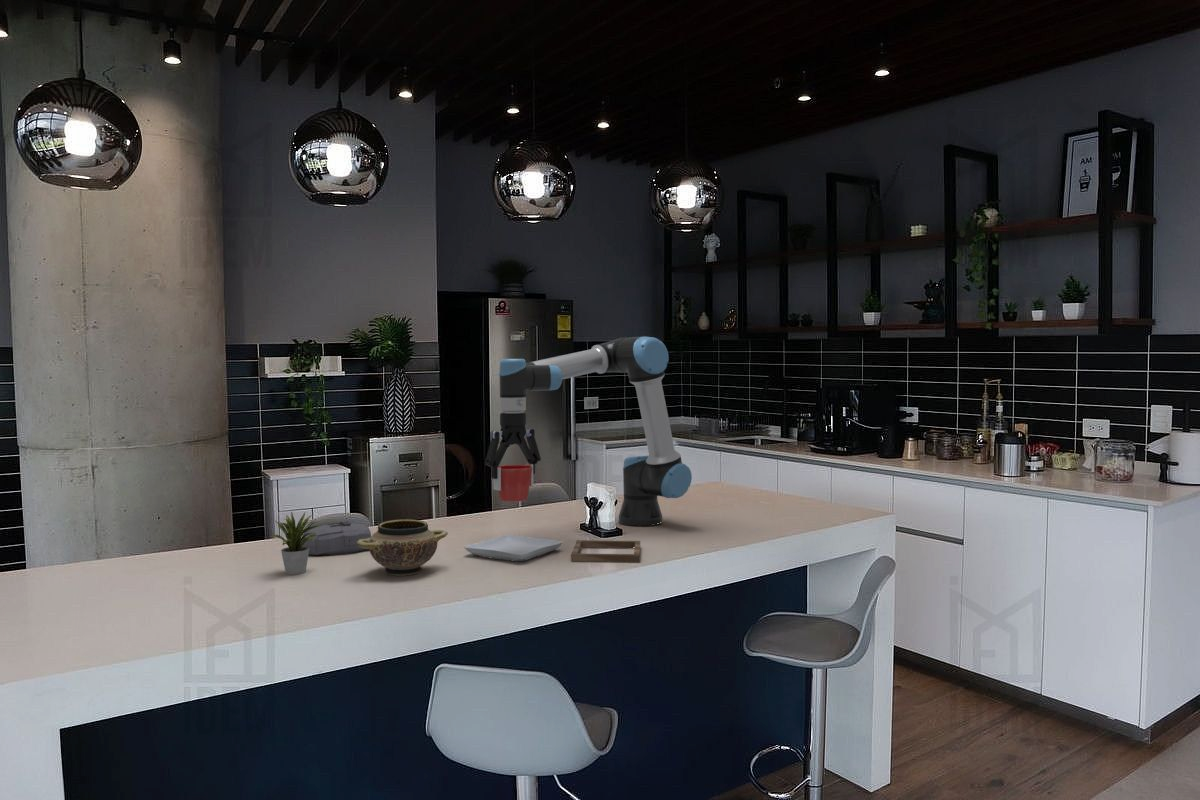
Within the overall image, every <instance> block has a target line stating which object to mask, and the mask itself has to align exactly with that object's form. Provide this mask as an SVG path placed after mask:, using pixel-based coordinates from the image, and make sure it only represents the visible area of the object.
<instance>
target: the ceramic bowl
mask: <svg viewBox="0 0 1200 800" xmlns="http://www.w3.org/2000/svg"><path fill="white" fill-rule="evenodd" d="M448 533H449V532H448V531H447V530H445V529H434V530H430V529H429V523H427V522H426V521H423V520H419V519H413V518H411V519H409V518H408V519H407V518H406V519H405V518H404V519H403V518H402V519H401V518H400V519H391V520H386V521H382V522H380V523H379V524H377V531H376V532H374V533H373V534H371V537H370V538H368V539H360V540H358V541H357V545H358V546H359V547H361V548H364V549H368V551H369V554H370V555H371V557H372V559H374V561H376V563H377V564H379V565H380V566H381V567H384V568H385V569H384V572H385V574H387V575H391V576H401V577H402V576H403V577H404V576H411V575H417V574H418V573H420V572H421V571H422V566H424V565H425V564H427V562H429V561H430V560H431V559H432V558H433V556H434V555H435V553H436V551H437V548H438V542H439V541H441V540H442V539H444V538H446V537H447V536H448Z"/></svg>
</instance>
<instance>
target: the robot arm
mask: <svg viewBox="0 0 1200 800" xmlns="http://www.w3.org/2000/svg"><path fill="white" fill-rule="evenodd" d="M669 358H670V357H669V352H668V349H667V347H666V345H665V343H664V342H663V341H661V340H660V339H658V338H656V337H653V336H651V337H650V336H647V335H646V336H645V335H643V336H635V337H633V336H632V337H620V338H616V339H614V340H610V341H607V342H603V343H598V344H595V345H593V346H591V349H587V350H582V351H576V352H572V353H568V354H563V355H556V356H553V357H548V358H544V359H539V360H535V361H530V362H527V361H526V360H525V359H524V358H503V359H501V360H500V361H499V373H498V376H499V411H500V413H499V425H500V431H499V430H497V431H495V430H492V431H491V432H490V438H491V439H490V442H489V446H488V450H487V453H486V458H485V461H484V465H485V466H487V467H490V471H491V472H490V474H491V475H490V478H491V479H492V481H493V490H494V491H498V492H499V491H500V490H501V468H500V467H498V466H500V464H501V462H502V459H503V458H504V456H505V454H506V452H507V449H508V448H509V447H510V446H513V445H517V446H518V447H519V449H520V451H521V452H522V455H523V456H524V457H525V460H526V461H527V463H525V465H526V466H532V474H531V481H530V487H534V475H535V473H536V464H538V462H541V460H542V458H541V455H540V452H539V447H538V445H537V441H536V440H537V439H536V437H535V434H536V433H535V428H534V429H533V428H526V425H527V414H526V412H525V411H527V397H526V396H527V392H533V391H534V392H539V391H544V392H545V391H548V392H549V391H550V392H551V391H556V390H558V389H559V388H561V385H562V383H563V380H566V379H570V378H575V377H579V376H583V375H588V374H592V373H597V374H598V375H599V374H600V375H601V374H606V373H625V374H627V376H628V380H629V383H630V384H632V385H634V387H635V391H636V397H637V401H638V407H639V411H640V416H641V421H642V425H643V430H644V431H643V432H644V435H645V440H646V441H645V442H646V445H647V450H648V455H639V456H628V457H625V459H624V460H623V467H622V470H623V471H622V472H623V477H622V478H623V479H622V480H623V502H622V504H621V507H620V511H619V514H618V523H619V524H620V525H623V524H625V525H624V526H629V525H652V524H657V523H660V522H662V523H663V514H662V511H661V507H660V504H659V499H658V497H661V498H662V497H663V498H666V499H679V498H681V497H683V496H684V495H685V494H686V493H687V492H688V491H689V487H690V486H691V484H692V479H693V478H692V476H693V475H692V474H693V473H692V470H691V468H690V467H689V466H688V465H686V464H685V463H683V461H682V457H681V453H680V452H678V451H677V450H676V449H675V444H674V439H673V434H672V433H673V432H672V430H671V423H670V420H669V413H668V408H667V405H666V399H665V394H664V389H663V383H662V380H663V378H664V377H665V375H666V374H665V371H666V369H667V366H668V363H669V361H670V359H669ZM525 437H526V438H525ZM500 439H501V440H500ZM526 440H527V441H526Z"/></svg>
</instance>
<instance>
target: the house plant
mask: <svg viewBox="0 0 1200 800" xmlns="http://www.w3.org/2000/svg"><path fill="white" fill-rule="evenodd" d="M306 513H307V511H304V512H303V514H302V516H301V517H300V518H299V520H298V522H297V524H296V520H295V517H294V515H293V512H292V510H291V511H290V516H289V515H286V516H285V518H284V520H285V521H286V522H281V521H276V520H274V522H275V523H276V525H277V526H278V528H279V529H280V530H281V531H282V532H283V533H284V535H285V538H286V539H285V538H284V537H283V536H282V535H279V534H272V535H270V538H273V537H274V538H278V539H280V540H282V546H284V545H287V546H288V547H284V548H282V549H281V550H280V551H281V552H280V553H281V556H282V561H283V566H284V570H285V574H286V575H290V576H293V575H294V576H295V575H301V574H305V573H306V572H307V567H308V559H309V555H310V554H309V547H305V546H303V544H304V543H305V542H306V541H307V540H308V539H312V540H313V541H314V539H313V538H312V537H313V536H316V534H315V533H316V532H315V533H307V534H305V533H306V532H308V531H309V530H310V529H313V528H316V527H319V526H322V524H317V525H314V524H315V523H317V520H321V519H322V517H319V518H317V519H314V520H310V519H311V518H312V516H313V514H311V515H309V516H307V517H306V518H305V515H306ZM309 522H310V523H309ZM318 532H320V531H318ZM304 534H305V535H304ZM309 534H312V535H310V536H308V537H306V536H307V535H309ZM313 534H315V535H313ZM305 537H306V538H305ZM303 538H304V540H303ZM302 540H303V541H302ZM301 541H302V542H301Z"/></svg>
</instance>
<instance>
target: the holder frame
mask: <svg viewBox="0 0 1200 800" xmlns="http://www.w3.org/2000/svg"><path fill="white" fill-rule="evenodd" d="M633 547H635V548H634V549H633V550H634V551H633V553H581V551H582V549H628V548H633ZM640 555H641V540H593V539H592V540H588V539H587V540H582V539H581V540H579V539H578V540H576V542H575V544H574V546H573V548H572V551H571V554H570V562H571V561H574V562H573V563H575V562H576V561H578V562H577V563H640V559H639V558H641V557H640Z"/></svg>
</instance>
